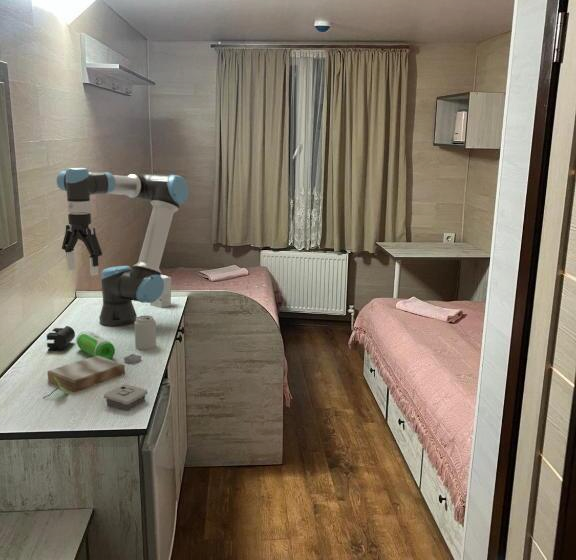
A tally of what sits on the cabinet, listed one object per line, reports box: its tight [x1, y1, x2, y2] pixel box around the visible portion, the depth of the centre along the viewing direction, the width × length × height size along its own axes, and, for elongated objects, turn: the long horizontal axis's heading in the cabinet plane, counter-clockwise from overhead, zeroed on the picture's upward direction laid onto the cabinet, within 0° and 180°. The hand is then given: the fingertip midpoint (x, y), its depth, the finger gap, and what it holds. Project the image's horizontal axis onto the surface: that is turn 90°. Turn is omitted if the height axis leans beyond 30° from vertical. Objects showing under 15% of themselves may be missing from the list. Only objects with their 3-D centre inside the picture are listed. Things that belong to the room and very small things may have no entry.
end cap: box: [46, 325, 76, 352], centre depth 229 cm, size 10×7×7 cm
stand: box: [47, 355, 126, 394], centre depth 200 cm, size 19×14×4 cm
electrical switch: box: [103, 383, 149, 412], centre depth 181 cm, size 9×5×9 cm
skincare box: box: [149, 274, 172, 309], centre depth 282 cm, size 8×6×15 cm
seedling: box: [42, 377, 70, 399], centre depth 186 cm, size 7×8×7 cm
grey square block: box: [123, 353, 142, 365], centre depth 215 cm, size 4×4×2 cm
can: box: [133, 315, 157, 351], centre depth 228 cm, size 8×8×12 cm
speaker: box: [75, 330, 116, 360], centre depth 221 cm, size 18×7×8 cm, turn 42°
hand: (82, 272), depth 222 cm, fingers open, 13 cm apart
